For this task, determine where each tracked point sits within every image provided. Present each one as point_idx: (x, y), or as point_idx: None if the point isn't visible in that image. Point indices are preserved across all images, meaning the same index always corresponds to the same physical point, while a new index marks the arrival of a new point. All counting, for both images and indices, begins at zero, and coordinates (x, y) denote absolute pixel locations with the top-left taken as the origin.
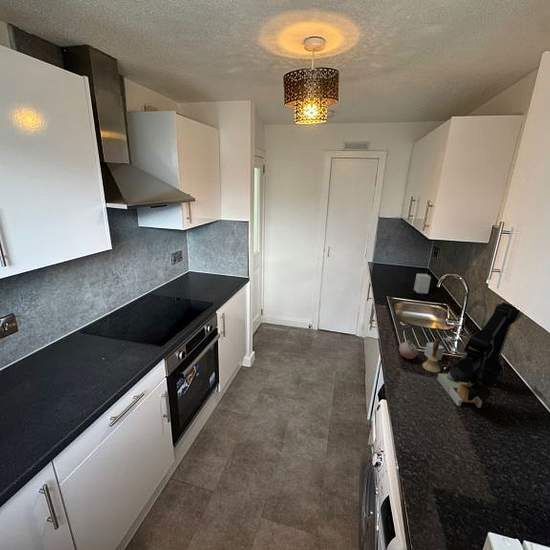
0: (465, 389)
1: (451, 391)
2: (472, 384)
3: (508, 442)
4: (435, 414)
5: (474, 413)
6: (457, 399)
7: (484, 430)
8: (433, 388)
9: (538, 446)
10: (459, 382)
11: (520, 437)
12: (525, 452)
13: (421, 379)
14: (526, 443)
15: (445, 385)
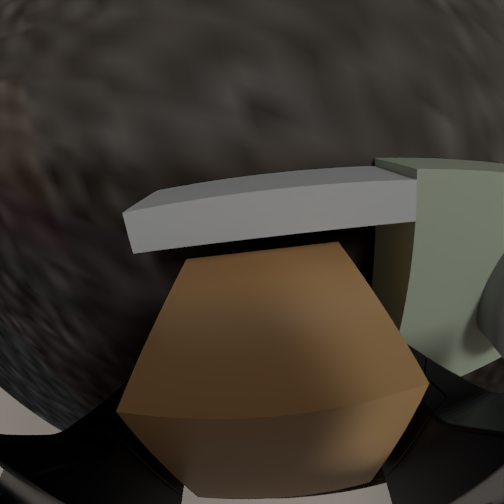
0: (130, 413)
1: (348, 178)
2: (336, 489)
3: (8, 353)
4: (33, 6)
5: (113, 307)
6: (167, 200)
7: (5, 291)
8: (411, 40)
9: (61, 425)
10: (423, 378)
11: (65, 409)
12: (6, 374)
13: (487, 21)
14: (48, 406)
15: (458, 165)
